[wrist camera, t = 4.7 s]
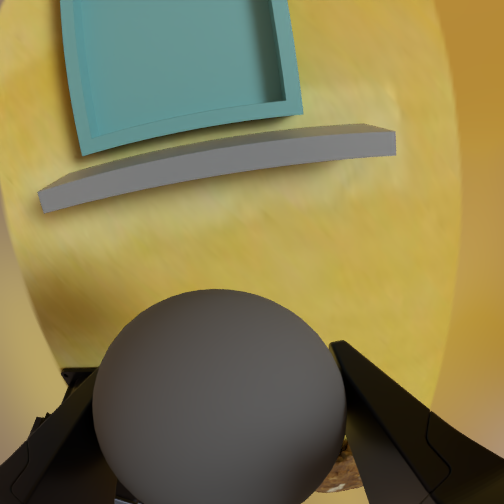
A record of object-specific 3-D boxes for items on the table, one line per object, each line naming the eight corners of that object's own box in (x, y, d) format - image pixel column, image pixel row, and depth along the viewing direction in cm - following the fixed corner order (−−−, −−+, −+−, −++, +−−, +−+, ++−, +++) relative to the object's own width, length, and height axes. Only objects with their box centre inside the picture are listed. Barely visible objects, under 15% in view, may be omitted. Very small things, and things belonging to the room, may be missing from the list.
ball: (157, 397, 11) (138, 543, 6) (97, 259, 8) (-4, 442, 3) (315, 380, 11) (354, 530, 6) (315, 229, 8) (420, 428, 3)
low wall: (73, 191, 18) (43, 213, 14) (69, 173, 17) (37, 192, 14) (365, 143, 18) (396, 155, 14) (363, 123, 17) (395, 131, 14)
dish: (93, 151, 17) (82, 156, 15) (70, -22, 11) (59, -29, 10) (297, 113, 17) (303, 114, 16) (267, -66, 12) (271, -78, 10)
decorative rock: (306, 437, 32) (301, 479, 39) (310, 468, 29) (303, 502, 36) (399, 421, 32) (373, 467, 39) (408, 448, 28) (378, 489, 36)
